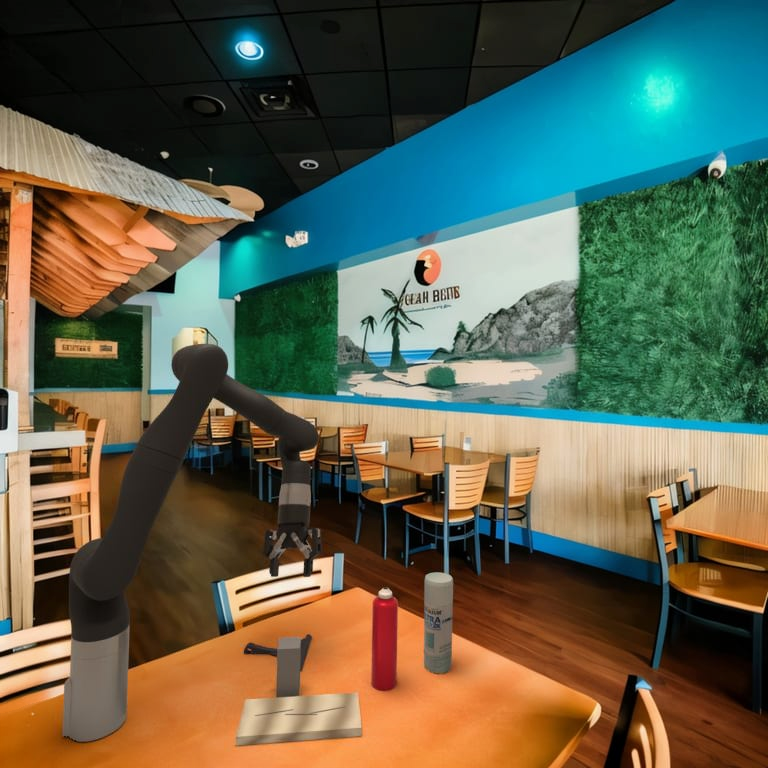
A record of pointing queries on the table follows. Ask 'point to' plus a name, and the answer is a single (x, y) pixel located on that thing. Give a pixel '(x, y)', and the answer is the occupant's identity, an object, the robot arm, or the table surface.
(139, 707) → the table surface
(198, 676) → the table surface
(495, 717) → the table surface
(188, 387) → the robot arm
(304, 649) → the squeegee
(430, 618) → the spray paint can
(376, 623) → the bottle
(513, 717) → the table surface
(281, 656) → the block
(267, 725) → the board
